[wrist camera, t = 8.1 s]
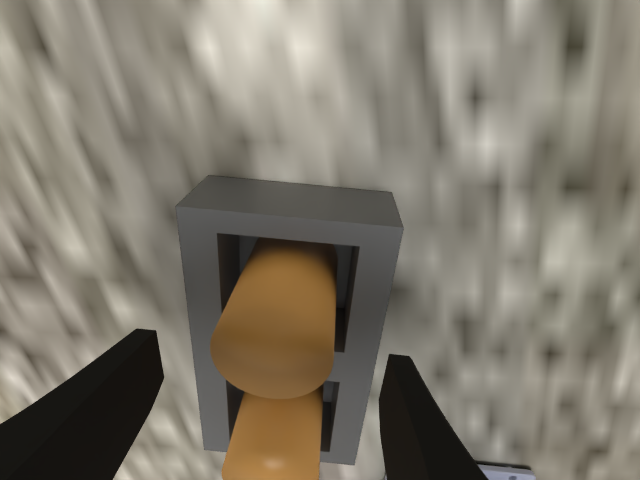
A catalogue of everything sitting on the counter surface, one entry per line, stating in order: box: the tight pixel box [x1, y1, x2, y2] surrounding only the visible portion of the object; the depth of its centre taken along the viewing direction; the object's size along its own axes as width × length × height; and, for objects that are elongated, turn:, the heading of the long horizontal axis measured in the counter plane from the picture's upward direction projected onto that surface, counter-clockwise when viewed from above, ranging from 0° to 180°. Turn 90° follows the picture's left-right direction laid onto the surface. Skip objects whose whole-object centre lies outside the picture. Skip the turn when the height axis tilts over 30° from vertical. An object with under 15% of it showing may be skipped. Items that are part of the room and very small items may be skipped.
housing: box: [176, 175, 404, 480], centre depth 16 cm, size 8×14×6 cm, turn 175°
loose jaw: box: [210, 237, 338, 399], centre depth 14 cm, size 4×4×6 cm
